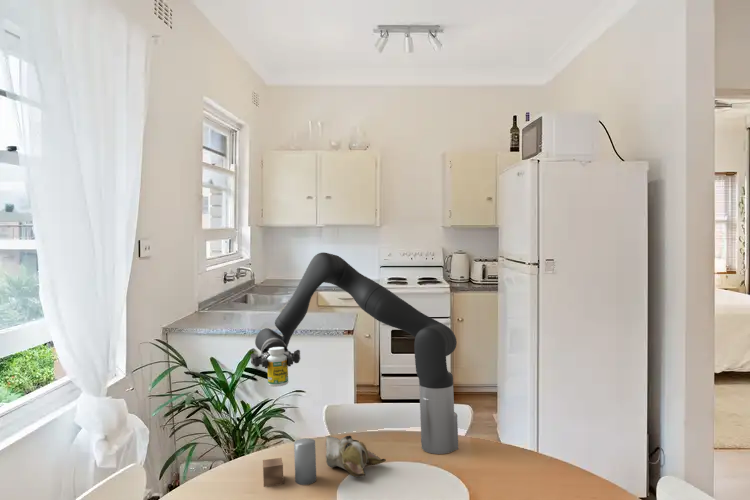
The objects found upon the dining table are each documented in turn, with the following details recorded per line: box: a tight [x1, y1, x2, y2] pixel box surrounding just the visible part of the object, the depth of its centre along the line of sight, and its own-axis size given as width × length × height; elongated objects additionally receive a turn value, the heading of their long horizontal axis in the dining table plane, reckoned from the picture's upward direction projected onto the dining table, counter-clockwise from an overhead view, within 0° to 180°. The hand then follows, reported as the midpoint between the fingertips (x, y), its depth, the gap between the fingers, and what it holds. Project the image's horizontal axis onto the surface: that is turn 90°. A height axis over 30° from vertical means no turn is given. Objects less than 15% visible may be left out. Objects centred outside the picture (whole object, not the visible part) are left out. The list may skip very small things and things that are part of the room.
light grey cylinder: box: [293, 437, 317, 486], centre depth 118 cm, size 5×5×9 cm
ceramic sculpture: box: [325, 435, 387, 478], centre depth 123 cm, size 11×9×15 cm
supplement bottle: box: [266, 347, 289, 387], centre depth 132 cm, size 5×5×10 cm
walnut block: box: [262, 457, 284, 487], centre depth 118 cm, size 4×4×4 cm
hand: (278, 363), depth 130 cm, fingers closed on supplement bottle, 5 cm apart
